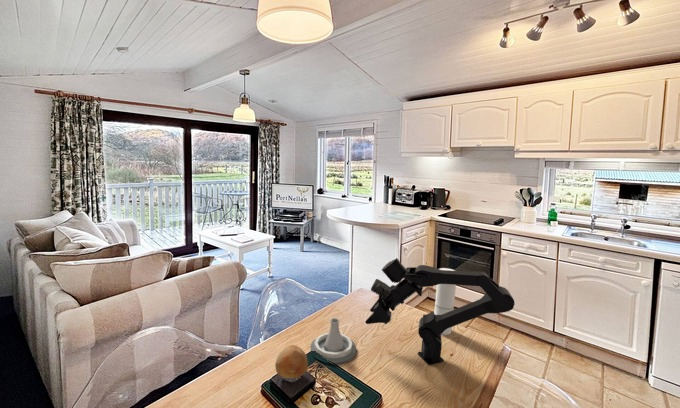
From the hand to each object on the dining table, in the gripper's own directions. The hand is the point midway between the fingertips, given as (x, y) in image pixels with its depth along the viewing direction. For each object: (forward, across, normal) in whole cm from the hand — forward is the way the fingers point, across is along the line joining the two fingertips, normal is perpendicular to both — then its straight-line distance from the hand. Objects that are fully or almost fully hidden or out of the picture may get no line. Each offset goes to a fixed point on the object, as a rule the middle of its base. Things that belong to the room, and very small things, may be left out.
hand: (368, 316), depth 112 cm
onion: (+21, +25, -6) cm, 33 cm away
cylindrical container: (-11, -21, +27) cm, 36 cm away
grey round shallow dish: (+15, +7, 0) cm, 17 cm away
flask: (+14, +7, -1) cm, 16 cm away
